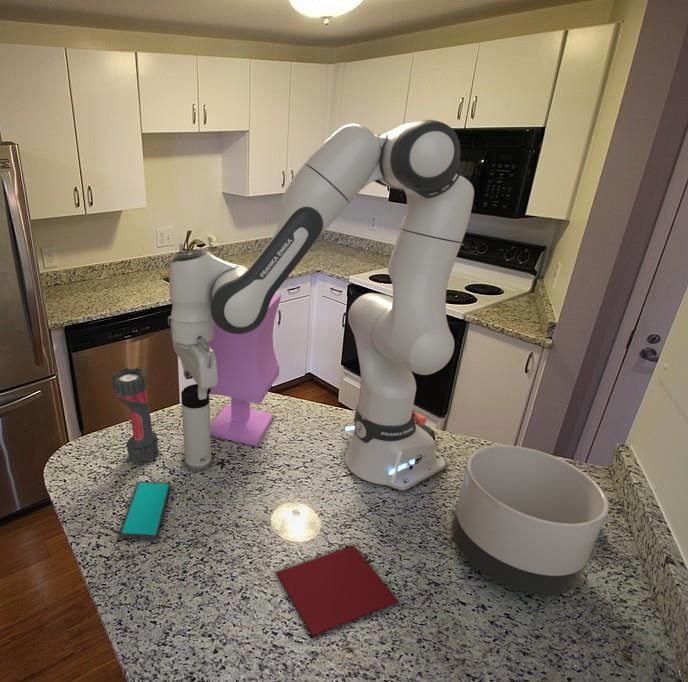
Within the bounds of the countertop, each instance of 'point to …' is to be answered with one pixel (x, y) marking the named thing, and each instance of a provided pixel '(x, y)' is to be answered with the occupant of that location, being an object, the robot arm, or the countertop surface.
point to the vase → (245, 378)
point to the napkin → (335, 589)
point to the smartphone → (146, 511)
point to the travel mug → (196, 428)
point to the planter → (528, 518)
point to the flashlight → (137, 413)
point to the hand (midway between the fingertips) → (194, 387)
